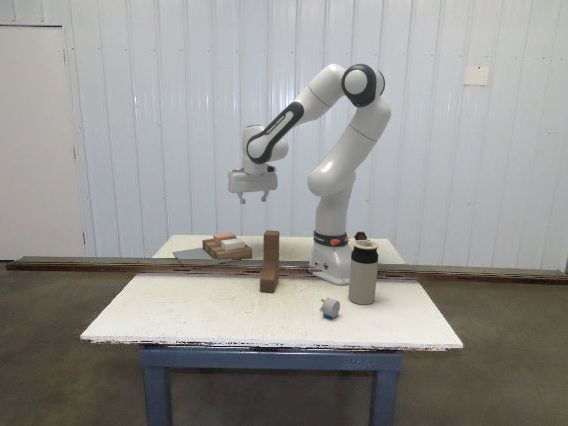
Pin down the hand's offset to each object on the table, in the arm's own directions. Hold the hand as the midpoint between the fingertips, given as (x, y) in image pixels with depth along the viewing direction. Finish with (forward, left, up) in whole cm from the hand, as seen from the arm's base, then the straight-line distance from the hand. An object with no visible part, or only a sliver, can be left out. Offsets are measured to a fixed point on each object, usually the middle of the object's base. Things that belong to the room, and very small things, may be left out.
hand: (253, 202), depth 146 cm
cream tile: (0, +9, -17) cm, 19 cm away
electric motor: (-55, +3, -22) cm, 59 cm away
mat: (+4, +23, -21) cm, 32 cm away
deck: (+4, +10, -21) cm, 24 cm away
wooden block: (-31, +9, -22) cm, 39 cm away
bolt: (-15, -47, -22) cm, 54 cm away
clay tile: (+9, +9, -17) cm, 21 cm away
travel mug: (-52, -12, -22) cm, 58 cm away
